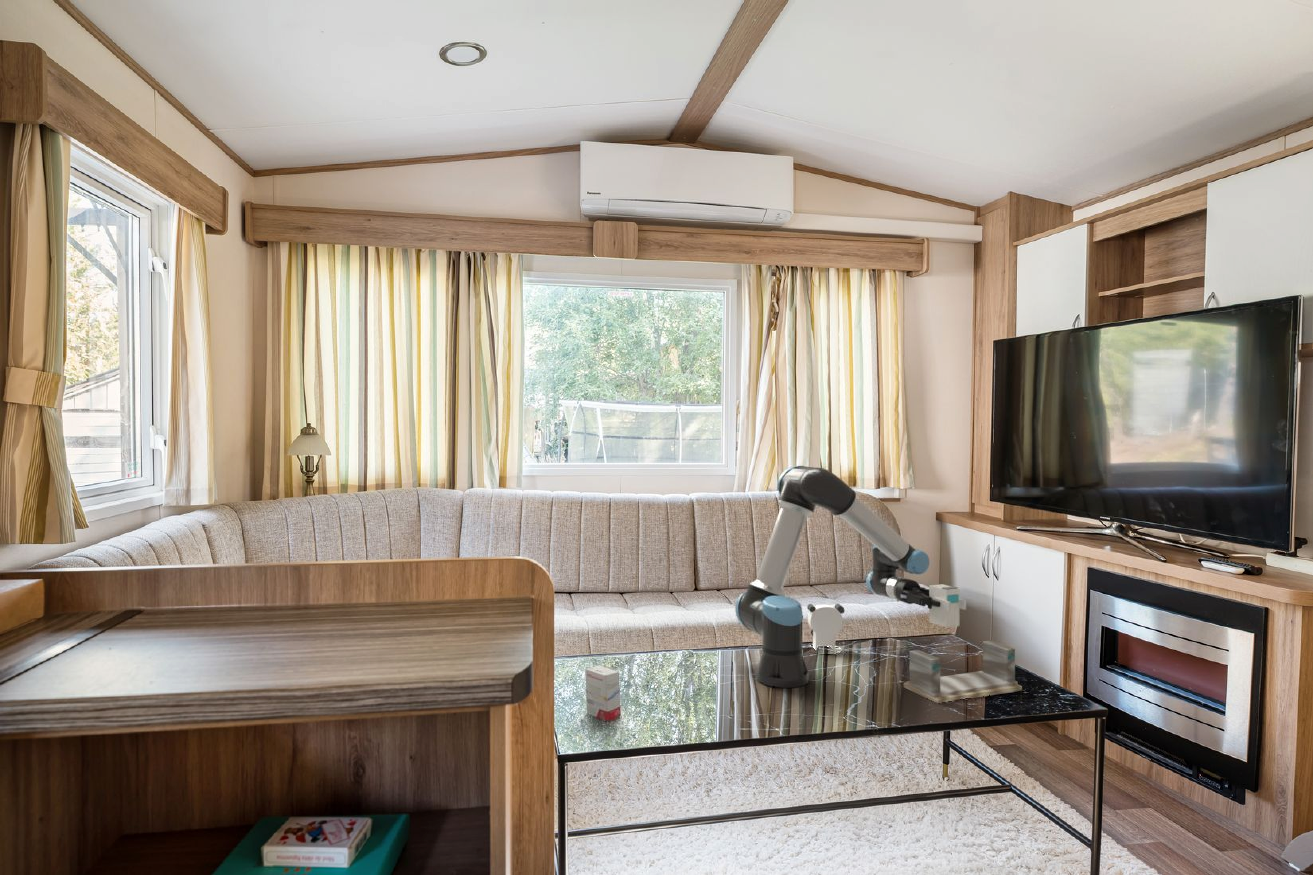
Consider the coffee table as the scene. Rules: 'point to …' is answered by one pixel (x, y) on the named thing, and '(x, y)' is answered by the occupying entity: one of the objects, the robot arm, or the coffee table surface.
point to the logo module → (944, 616)
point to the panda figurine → (825, 624)
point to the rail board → (964, 676)
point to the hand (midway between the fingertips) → (957, 605)
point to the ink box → (602, 693)
